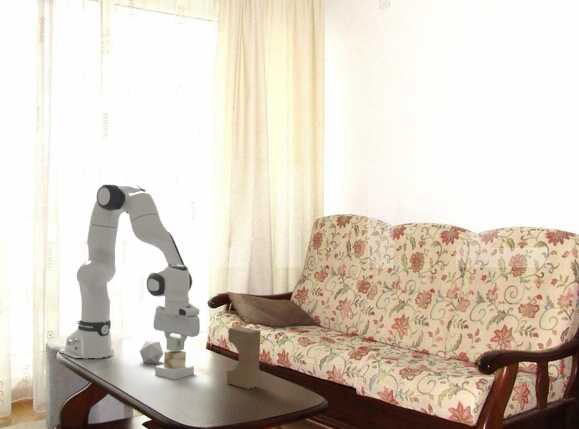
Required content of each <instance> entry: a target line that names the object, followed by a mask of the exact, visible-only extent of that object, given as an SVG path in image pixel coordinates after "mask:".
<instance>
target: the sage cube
mask: <svg viewBox="0 0 579 429" xmlns="http://www.w3.org/2000/svg"><path fill="white" fill-rule="evenodd" d="M180 341H181V336H180V335H172V336H171V337H167V339H166V351H170V350H171V351H175V352H176V351H180V350H181V351H185V346H184V347H180V346H178V342H180Z"/></svg>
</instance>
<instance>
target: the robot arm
mask: <svg viewBox="0 0 579 429" xmlns="http://www.w3.org/2000/svg"><path fill="white" fill-rule="evenodd" d="M96 192H97V193H96V201H95V203H94V206H93V207H92V208H93V209H92V212H91V215H90V219H89V226H88V232H87V233H88V235H87V239H86V240H87V241H86V244H87V247H88V248H87V250H88V260H87V261H85V262H84V263H82V264H81V265H80V267H79V268H78V269H77V272H76V279H77V282H78V285H79V291H80V292H79V293H80V298H81V314H80V315H81V318H80V320H77V321H76V325H77V329H76V330H74V331H73V332H72V333H70V334H69V336H67V337H66V341H65V347H63V348H60V349H59V351H58V352H59V353H61V354H63V353H64V354H63V355H65V354H66V355H65V356H68V355H69V356H68V357H70V356H71V358H73V357H74V358H73V359H75V358H83V359H88V358H95V359H104V358H103V357H105V358H108V356H109V357H112V354H113V352H114V348H113V346H112V345H113V344H112V334H111V325H112V324H111V323H112V322H111V319H110V317H111V316H110V313H111V311H110V309H111V301H110V300H111V299H110V298H109V293H108V292H109V291H108V283H110V281H111V280H113V278H114V276H115V274H116V270H117V268H116V244H117V236H118V234H117V233H118V228H119V221H120V217H121V215H122V214H123V213H126V214H128V216H129V220H130V221H129V222H130V225H131V229H132V232H133V234H134V236H135V237H136V238H137V239H138V240H139V241H141V242H143V243H146V244H148V245H151V246H154V247H155V248H157V249H159V250H160V251H161V252H162V253H163V255H164V258H165V261H166V263H167V266H165V268H163V269H160V270H157V271H152V272H151V273H150V274H148V277H147V279H146V289H147V291H148V293H149V294H150V295H151V296H153V297H164V305H161V304H159V305H158V306H156V308H155V313H154V318H153V329H154V331H161V332H164V334H163V335H164V337H165V339H166V340H167V337H172V336H171V334H174V335H178V336H180V337H181V341H180V342H178V346H180V347H184V348H185V342H186V340H187V339H188V337H189V338H193V337H198V335H199V334H200V330H201V329H200V327H201V326H200V325H201V324H200V323H201V321H200V317H199V316H198V315H200V309H199V308H198V307H196V306H194V305H192V303H190V297H189V291H190V290H191V288H192V286H193V279H192V275H191V273H190V271H189V267H188V266H186V265H185V263H184V260H183V258H182V255H181V253H180V251H179V248H178V246H177V243H176V241H175V239H174V237H173V235H172V234H171V233H170V231H168V230H167V229H166V228H165V226H164V224H163V223H162V220H161V217H160V215H159V211H158V208H157V205H156V203H155V200H154V199H153V197H152V194H150V193H149V192H147V191H146V189H145V188H143V187H142V186H139V185H134V184H129V183H114V182H113V183H105V184H102V185H101V186H100V187H99V188H98V189H97V191H96Z"/></svg>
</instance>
